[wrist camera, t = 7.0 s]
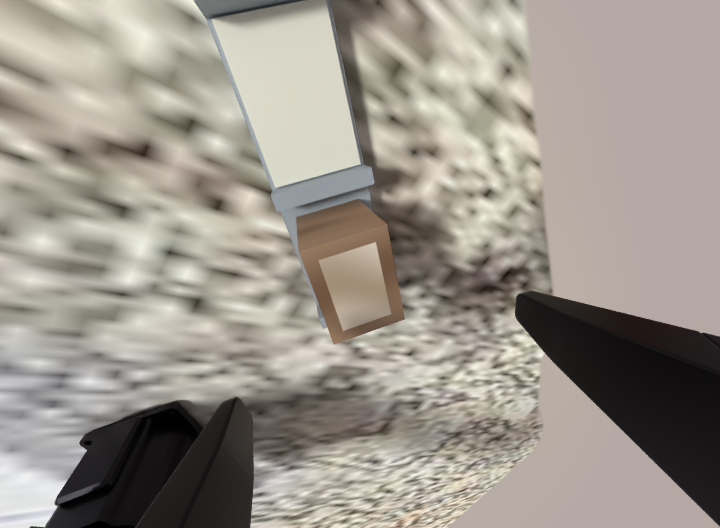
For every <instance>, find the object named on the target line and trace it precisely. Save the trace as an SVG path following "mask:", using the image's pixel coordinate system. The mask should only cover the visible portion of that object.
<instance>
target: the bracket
mask: <svg viewBox="0 0 720 528" xmlns="http://www.w3.org/2000/svg"><path fill="white" fill-rule="evenodd" d="M194 2H195V3H196V5H197V6H198V8H199V9H200V11H201V12H202V13H203V15H204V16H205V18H206V20H207V22H208V25H209V27H210V30H211V33H212V35H213V38H214V40H215V43H216V45H217V48H218V51H219V53H220V56H221V58H222V61H223V64H224V66H225V69H226V71H227V74H228V77H229V79H230V82H231V84H232V87H233V89H234V92H235V95H236V97H237V100H238V102H239V105H240V108H241V110H242V113H243V115H244V118H245V121H246V123H247V126H248V128H249V131H250V133H251V136H252V139H253V141H254V144H255V146H256V149H257V152H258V154H259V157H260V159H261V162H262V165H263V167H264V170H265V172H266V175H267V177H268V180H269V183H270V185H271V188H272V193H271V198H272V201H273V203H274V206H275V208H276V211H277V212H279V211H281V214H282V216H283V219H284V221H285V224H286V227H287V229H288V232H289V234H290V237H291V240H292V242H293V245H294V247H295V250H296V252H297V255H298V258H299V260H300V263H301V265H302V268H303V271H304V273H305V276H306V278H307V281H308V284H309V286H310V289H311V291H312V294H313V296H314V299H315V302H316V304H317V309H318V316H319V320H320V323H321V325H322V328H326V327H327V325H326V322H325V319H324V317H323V314H322V312H321V309H320V306H319V304H318V301H317V298H316V296H315V293H314V291H313V288H312V285H311V283H310V280H309V278H308V275H307V272H306V270H305V267H304V264H303V262H302V259H301V257H300V254H299V251H298V238H297V226H296V217H298V216H301V215H305V214H308V213H311V212H315V211H318V210H321V209H325V208H328V207H332V206H335V205H338V204H342V203H345V202H349V201H352V200H355V199H359V200H360V201H361V202H362V203H363V204H364V205H366V206H367V207H368V208H369V209H370V210H371V211H372V212H374V211H373V207H372V202H371V197H370V192H369V187H368V186H369V185H373V184H375V182H374V177H373V172H372V167H369V166H366V165H364V163H363V158H362V154H361V149H360V144H359V139H358V134H357V129H356V125H355V120H354V115H353V110H352V105H351V100H350V96H349V91H348V86H347V81H346V76H345V71H344V67H343V62H342V57H341V52H340V47H339V42H338V38H337V33H336V28H335V23H334V18H333V13H332V9H331V4H330V0H194Z"/></svg>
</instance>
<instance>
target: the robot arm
mask: <svg viewBox="0 0 720 528" xmlns="http://www.w3.org/2000/svg"><path fill="white" fill-rule="evenodd" d="M515 316H516V319H517V320H518V322H519V323H520V324H521V325H522V326H523V328H524V329H525V330H526V331H527V332H528V334H529V335H530V336H531V337H532V338H533V339H534V341H535V342H536V343H537V344H538V345H539V347H540V348H541V349H542V350H543V351H544V352H545V354H546V355H547V356H548V357H549V358H550V359H551V360H552V361H553V362H554V363H555V364H556V365H557V366H558V367H559V368H560V369H561V370H562V371H563V372H564V373H565V374H566V375H567V376H568V377H569V378H570V379H571V380H572V381H573V382H574V383H575V384H576V385H577V386H578V387H579V388H580V389H581V390H582V391H583V392H584V393H585V394H586V395H587V396H588V397H589V398H590V399H591V400H592V401H593V402H594V403H595V404H596V405H597V406H598V407H599V408H600V409H601V410H602V411H603V412H604V413H605V414H607V416H608V417H609V418H610V419H611V420H612V421H613V422H614V423H615V424H616V425H617V426H618V427H619V428H620V429H621V430H622V431H624V433H625V434H626V435H628V436H629V437H630V438H631V439H632V440H633V441H634V442H635V443H636V444H637V445H638V446H639V447H640V448H641V449H642V450H643V451H644V452H645V453H646V454H647V455H648V456H649V457H650V458H651V459H652V460H653V461H654V462H655V463H656V464H657V465H658V466H659V467H660V468H661V469H662V470H663V471H664V472H665V473H666V474H667V475H668V476H669V477H670V478H671V479H672V480H673V481H674V482H675V483H676V484H677V485H678V486H679V487H680V488H681V489H682V490H683V491H684V492H685V493H686V494H687V495H688V496H689V497H690V498H691V499H692V500H693V501H695V502H696V503H697V504H698V506H700V508H702V510H703V511H705V512H706V513H707V514H708V515H709V516H710V517H711V518H712V519H713V520H714V521H715V522H716V523H717V524H718V525H719V526H720V337H719V336H715V335H711V334H707V333H700V332H698V331H695V330H690V329H686V328H682V327H678V326H674V325H670V324H666V323H662V322H658V321H653V320H650V319H645V318H641V317H637V316H633V315H629V314H625V313H621V312H616V311H612V310H608V309H604V308H600V307H596V306H592V305H588V304H584V303H579V302H576V301H572V300H568V299H564V298H559V297H555V296H551V295H547V294H543V293H539V292H535V291H526V292H523V293H520V294H518V295H517V297H516V306H515ZM80 445H81V446H82V447H84V448H85V449H86V450H87V452H86V453H85V455H84V456H83V458H82V459H81V461H80V462H79V464H78V465H77V467H76V469H75V470H74V472H73V473H72V475H71V476H70V478H69V479H68V481H67V482H66V484H65V485H64V487H63V488H62V490H61V491H60V493H59V495H58V496H57V498H56V500H55V505H56V506H58V507H57V509H56V510H55V512H54V513H53V515H52V517H51V518H50V520H49V521H48V523H47V524H46V526H45V528H250V523H251V511H252V498H253V482H254V462H253V420H252V415H251V413H250V411H249V410H248V408H247V407H246V406H245V404H244V403H243V401H242V400H241V399H240V398H239V397H234V398H232V399H229V400H226V401H224V402H223V403H222V404H221V405H220V406H219V407H218V409H217V410H216V412H215V413H214V415H213V416H212V418H211V419H210V420H209V422H208V423H207V425H206V426H205V428H204V429H202V428H201V427H200V426H199V425H198V424H197V423H196V422H195V421H194V420H193V418H192V417H191V416H190V415H189V414H188V413H187V412H186V411H185V410H184V409H183V408H182V407H181V405H179V404H176V403H171V404H168V405H165V406H162V407H159V408H157V409H154V410H151V411H148V412H145V413H143V414H140V415H137V416H134V417H131V418H129V419H126V420H123V421H120V422H117V423H115V424H112V425H109V426H106V427H103V428H101V429H98V430H95V431H92V432H89V433H87V434H85V435H84V436H83V438H82V439H81V441H80ZM30 528H44V527H33V526H31V527H30Z"/></svg>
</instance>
